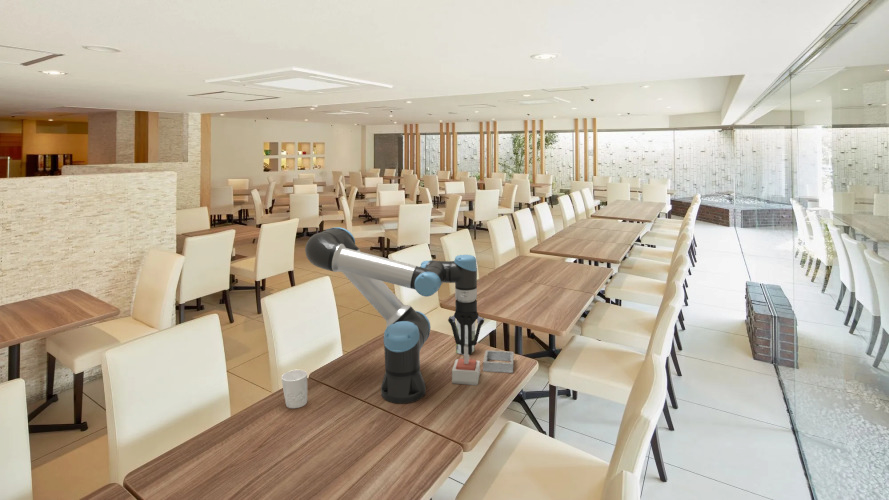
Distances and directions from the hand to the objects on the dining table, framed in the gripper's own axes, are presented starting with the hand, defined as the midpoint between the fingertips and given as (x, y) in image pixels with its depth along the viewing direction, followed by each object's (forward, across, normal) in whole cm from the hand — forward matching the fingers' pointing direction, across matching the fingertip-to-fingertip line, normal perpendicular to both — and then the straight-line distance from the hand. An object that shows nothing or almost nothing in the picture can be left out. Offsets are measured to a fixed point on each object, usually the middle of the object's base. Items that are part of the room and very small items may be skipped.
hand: (466, 362), depth 164 cm
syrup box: (+7, -3, +22) cm, 23 cm away
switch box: (+6, 0, 0) cm, 6 cm away
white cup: (+6, -53, -25) cm, 59 cm away
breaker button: (+5, 0, 0) cm, 5 cm away
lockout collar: (+6, +11, +12) cm, 17 cm away
